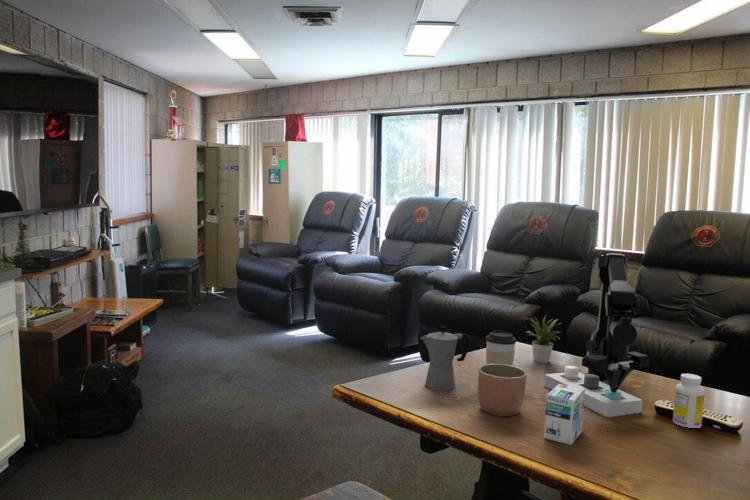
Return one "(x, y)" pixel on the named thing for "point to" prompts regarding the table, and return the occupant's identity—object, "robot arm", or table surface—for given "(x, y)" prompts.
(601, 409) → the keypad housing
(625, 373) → the robot arm
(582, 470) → the table surface
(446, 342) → the coffeepot
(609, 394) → the key teal
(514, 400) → the planter
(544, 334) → the house plant
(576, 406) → the light bulb box
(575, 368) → the key ivory
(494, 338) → the coffee cup
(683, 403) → the supplement bottle
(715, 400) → the table surface
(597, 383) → the key charcoal
